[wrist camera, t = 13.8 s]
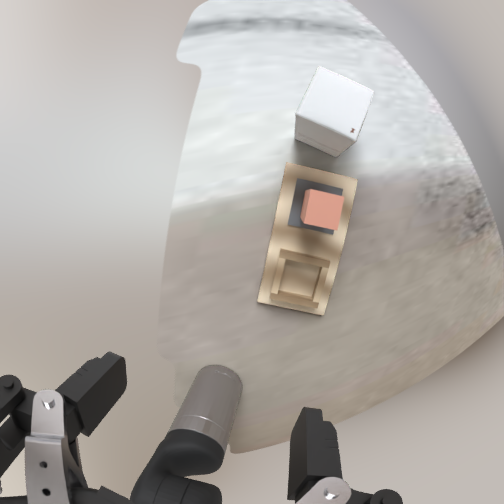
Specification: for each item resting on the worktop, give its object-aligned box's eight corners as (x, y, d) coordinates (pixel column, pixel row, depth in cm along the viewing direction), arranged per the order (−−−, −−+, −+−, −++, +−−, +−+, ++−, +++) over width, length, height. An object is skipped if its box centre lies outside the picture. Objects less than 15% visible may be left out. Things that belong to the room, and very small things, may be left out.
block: (326, 222, 39) (337, 230, 30) (300, 217, 39) (303, 223, 31) (331, 196, 38) (344, 196, 29) (305, 190, 38) (310, 188, 30)
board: (322, 312, 43) (324, 320, 40) (257, 299, 44) (255, 306, 41) (356, 179, 38) (361, 178, 35) (286, 163, 39) (286, 160, 36)
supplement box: (353, 119, 36) (377, 91, 24) (336, 158, 38) (356, 144, 26) (310, 98, 37) (318, 63, 24) (292, 138, 38) (294, 114, 26)
